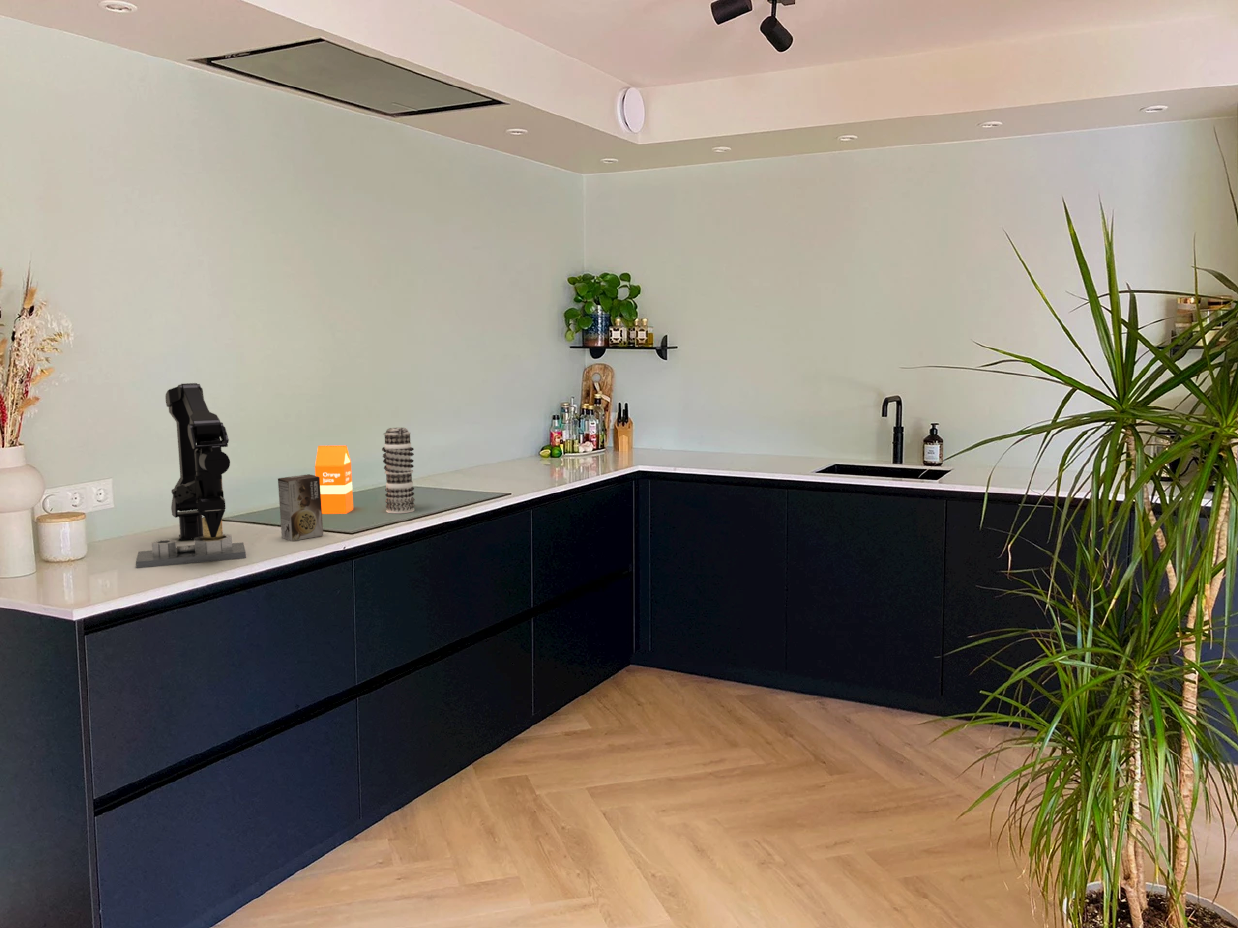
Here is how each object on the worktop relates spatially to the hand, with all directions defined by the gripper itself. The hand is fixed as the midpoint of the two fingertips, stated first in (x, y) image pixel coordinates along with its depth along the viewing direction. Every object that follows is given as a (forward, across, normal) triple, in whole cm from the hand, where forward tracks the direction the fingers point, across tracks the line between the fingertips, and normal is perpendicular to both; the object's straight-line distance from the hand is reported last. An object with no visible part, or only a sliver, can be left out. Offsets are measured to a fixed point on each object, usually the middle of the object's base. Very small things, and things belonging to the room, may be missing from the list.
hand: (212, 533), depth 248 cm
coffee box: (+6, -14, +22) cm, 27 cm away
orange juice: (+6, -49, +35) cm, 60 cm away
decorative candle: (+6, -41, +53) cm, 67 cm away
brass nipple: (+4, 0, 0) cm, 4 cm away
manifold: (+6, 0, -5) cm, 7 cm away
